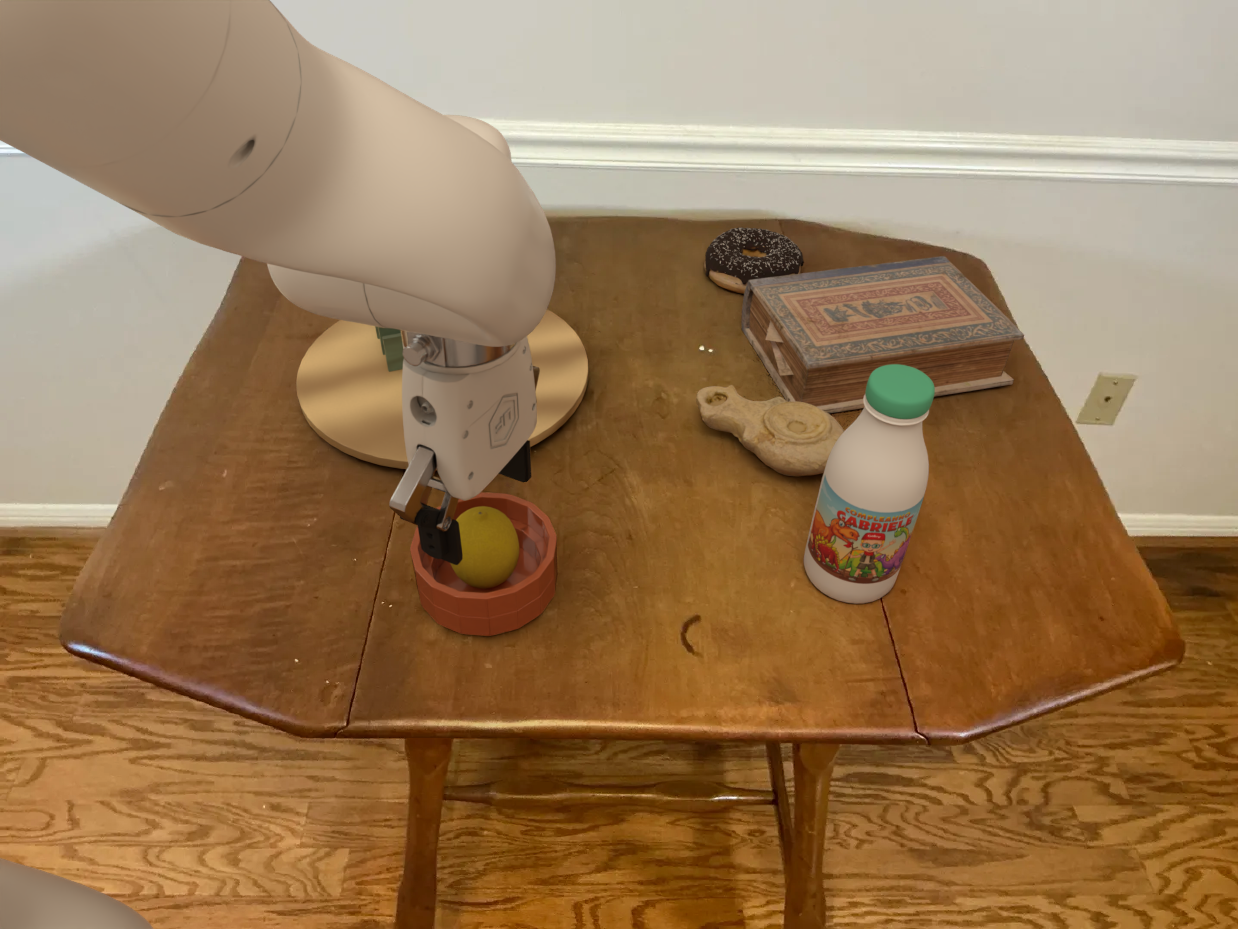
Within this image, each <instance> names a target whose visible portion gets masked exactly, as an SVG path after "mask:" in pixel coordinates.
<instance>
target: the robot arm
mask: <svg viewBox="0 0 1238 929" xmlns="http://www.w3.org/2000/svg"><path fill="white" fill-rule="evenodd" d="M0 141H1V142H2V143H4V144H7V145H8V146H10V147H12V148H14V149H16V150H18V151H20V152H22V153H23V154H25V155H28V156H29V157H31V158H33V159H35V160H37V161H39V162H41V163H42V164H45V165H47V166H49V167H50V168H52V169H54V170H56V171H57V172H59V173H62V174H63V175H66V176H68V177H69V178H71V179H73V180H75V181H77V182H79V183H81V184H82V185H84V186H86V187H88V188H90V189H92V190H94V191H96V192H97V193H99V194H101V195H103V196H105V197H106V198H109V199H110V200H112V201H114V202H116V203H118V204H120V205H122V206H124V207H126V208H127V209H129V210H131V211H134V213H137V214H139V215H141V216H142V217H144V218H146V219H148V220H150V221H152V222H153V223H155V224H157V225H159V226H160V227H161V228H164V229H166V230H168V231H170V233H173V234H175V235H177V236H179V237H183V238H185V239H187V240H191V241H193V242H195V243H197V244H200V245H203V246H207V247H209V248H214V249H217V250H220V251H223V252H226V253H229V254H233V255H237V256H240V257H243V258H246V259H249V260H252V261H255V262H259V263H262V264H266V265H267V270H268V273H269V275H270V278H271V280H272V281H273V284H274V286H275V287H276V288H277V290H278V291H279V293H281V295H282V296H283V297H284V298H285V299H286V300H288V301H289V302H290V303H292V304H293V305H294V306H296V307H297V308H300V309H302V310H303V311H307V312H309V313H311V314H314V315H318V316H320V317H325V318H329V319H334V320H338V321H339V320H344V321H349V322H354V323H360V324H365V325H371V326H376V327H382V328H393V329H399V330H401V337H402V343H403V351H402V353H403V357H404V360H403V373H402V412H403V428H404V439H405V446H406V454H407V459H408V464H409V466H408V468H407V469H405V472H404V473H403V476H401V479H400V481H399V483H398V484H397V486H396V487H395V490H394V492H393V494H392V496H391V497H390V499H389V502H388V504H389V509H391V510H392V511H393V512H394V513H395V514H396V515H397V516H398V517H399V518H400V520H403V521H405V522H407V523H411V524H413V525H415V526H417V527H418V531H419V537H420V544H421V549H422V550H423V551H424V552H425V553H427V554H428V555H429V556H431V557H433V558H436V559H442V560H444V561H447V562H449V563H452V564H454V565H458V564H459V563H460V562H461V561H462V559H463V557H462V556H463V554H462V546H461V537H460V529H459V523H458V522H457V521H456V520H454V519H453V516H454V513H455V510H456V507H457V504H458V500H459V499H461V500H464V501H466V500H469V499H471V498H473V497H475V496H476V495H478V494H479V493H480V492H483V491H484V490H485V489H486V488H487V486H489V485H490V483H491V482H492V481H493V480H494V479H495V478H496V477H497V476H498V475H500V476H504V477H507V478H509V479H512V480H515V481H517V482H521V483H529V481H530V480H531V478H532V458H531V457H532V456H531V447H530V441H528V439H529V437H530V436H531V434H532V433H533V431H534V429H535V427H536V424H537V405H536V403H537V400H536V392H535V391H536V387H537V382H538V378H539V373H540V369H539V367H536V366H533V365H532V358H531V352H530V347H529V343H528V339H527V335H529V334H530V333H531V332H532V331H533V330H534V329H535V328H536V326H537V325H538V324H539V323H540V321H541V319H542V318H543V316H544V314H545V312H546V310H547V309H549V305H550V302H551V299H552V297H553V293H554V288H555V283H556V273H557V272H556V271H557V260H556V249H555V242H554V237H553V234H552V229H551V226H550V223H549V221H548V219H547V215H546V213H545V210H544V209H543V207H542V204H541V203H540V202H539V199H538V197H537V196H536V194H535V193H534V190H533V188H531V186H530V185H529V183H528V181H527V180H526V179H525V177H524V176H523V174H522V173H521V171H520V169H519V168H518V167H517V166H516V165H515V164H514V163H513V161H512V153H511V149H510V145H509V144H508V141H507V140H506V138H505V137H504V135H503V134H502V133H501V131H500V130H499V129H497V128H496V127H494V126H493V125H492V124H490V123H488V122H486V121H485V120H482V119H479V118H476V117H472V116H466V115H459V114H443V113H441V112H439V111H437V110H435V109H433V108H432V107H429V106H427V105H426V104H424V103H422V102H420V101H418V100H416V99H415V98H413V97H411V96H409V95H407V94H406V93H405V92H402V91H400V90H399V89H396V87H393V86H392V85H390V84H388V83H387V82H385V81H383V80H381V79H380V78H378V77H376V76H374V75H372V74H371V73H369V72H367V71H366V70H363V69H361V68H360V67H358V66H355V65H354V64H352V63H350V62H348V61H345V60H343V59H342V58H339V57H337V56H336V55H333V54H331V53H329V52H327V51H325V50H323V49H321V48H319V47H318V46H316V45H314V44H312V43H311V42H310V41H308V40H307V39H306V38H305V37H304V36H303V35H302V34H301V33H300V32H299V31H298V30H297V29H296V28H295V26H293V24H292V23H291V22H290V20H288V19H287V18H286V17H285V15H284V14H283V13H282V12H281V11H280V10H279V9H278V8H277V6H276V5H275V4H274V2H272V1H271V0H0ZM436 469H437V470H436ZM436 471H437V474H438V476H439V477H437V476H435V474H436ZM432 489H435V490H437V491H440V492H442V493H444V495H443V499H442V502H441V505H440V506H441V508H440V510H439V509H437V507H434V506H431V505H428V502H429V500H430V496H431V493H432ZM0 929H154V927H153V925H152V924H151V923H150V922H149V921H148V920H147V919H146V918H145V917H144V916H143V915H141V913H139V912H138V911H136V910H135V909H134V908H132V907H130V906H129V905H127V904H125V902H121V901H120V900H118V899H116V898H114V897H113V896H112V897H111V896H110V895H108V894H106V893H103V892H102V891H99V890H98V889H97V890H96V889H94V888H92V887H90V886H87V885H85V884H82V883H80V882H77V881H75V880H72V879H69V878H65V877H63V876H60V875H57V874H54V873H51V872H47V871H45V870H42V869H39V868H35V867H32V866H28V865H26V864H22V863H18V862H14V861H11V860H8V859H6V858H2V857H0Z"/></svg>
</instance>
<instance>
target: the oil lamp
mask: <svg viewBox="0 0 1238 929" xmlns="http://www.w3.org/2000/svg"><path fill="white" fill-rule="evenodd" d="M695 401H696V405H697V408H698V409H699V411H700V417H701V419H702V421H703V423H704V424H705V425H706V426H707V427H708V428H710V429H713V430H715V431H720V432H725V433H731V434H732V435H733V436H734V437H736V438H737V439H738V441H739V443H740V444H742V446H743V447H744V448H745V449H746V450H748V451H750V452H752V453H753V454H755V455H756V457H757V458H758V459H759V460H760V461H761V462H762V463H763V464H765V466H767V467H769V468H771V469H772V470H774V471H775V472H777V473H778V474H781V475H782V476H787V477H805V476H816V475H820V474H824V470H825V467H826V464H827V460H828V457H829V455H830V453H831V450H832V448H833V446H834V445H835V443H836V441H837V440H838V438H839V437H840V436H841V434H842V433H843V432H844V431H845V430H844V428H843V426H842V425H841V423H839V421H837V419H836V418H835V417H834V416H832V415H831V413H829V414H828V413H827V412H825V411H823V410H821V409H819V408H818V407H816V406H813V405H811V404H808V403H804V402H797V401H791V402H787V401H786V399H785V398H784V397H782V396H774V397H772V398H770V399H768V400H767V399H766V400H754V401H753V400H751V399H748V398H745V397H743V396H742V395H740V394H739V392H738V391H737V389H736V387H735V386H734V385H733V384H730V385H728V386H721V385H720V386H719V385H711V386H706V387H703V388H702V387H701V388H700V389H699V390H698V391H697V393H696V396H695Z"/></svg>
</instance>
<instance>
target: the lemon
mask: <svg viewBox="0 0 1238 929" xmlns="http://www.w3.org/2000/svg"><path fill="white" fill-rule="evenodd" d="M456 521H457V522H458V523H459V529H460V537H461V546H462V554H463V556H462V557H463V559H462V561H461V562H460V563H459V564H458V565H454V564H452V563H450V564H451V566H452V568H453V570H454V571H455V573H456V575H457V576H458V577H459V578H460V579H461V580H462V581H463V582H464V583H466V584H468V585H470V586H472V587H476V588H483V589H486V588H492V587H495V586H498V585H500V584H501V583H503V582H505V581H506V580H507V579H508V578H509V577H510V576H511V575H512V573H513V571H514V569H515V568H516V565H517V562H518V557H519V542H518V536H517V533H516V531H515V529H514V526H513V524H512V523H511V521H510V520H509V518H508V517H507V516H506V515H505V514H504V513H502V512H501V511H499V510H497V509H495V508H492V507H486V506H480V507H474V508H471V509H469V510H467V511H465V512H464V513H462V514H461V515H460V516H459V517H458V518H457V519H456Z"/></svg>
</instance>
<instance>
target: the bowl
mask: <svg viewBox="0 0 1238 929" xmlns="http://www.w3.org/2000/svg"><path fill="white" fill-rule="evenodd" d="M480 506H486V507H492V508H495V509H497V510H499V511H501V512H502V513H504V514H505V515H506V516H507V517H508V518H509V520H510V521H511V523H512V524H513V526H514V529H515V531H516V533H517V536H518V542H519V557H518V562H517V565H516V568H515V569H514V571H513V573H512V575H511V576H510V577H509V578H508V579H507V580H506V581H505V582H503V583H501V584H500V585H498V586H495V587H492V588H486V589H483V588H476V587H472V586H470V585H468V584H466V583H464V582H463V581H462V580H461V579H460V578H459V577H458V576H457V575H456V573H455V571H454V570H453V568H452V566H451V564H450V563H449V562H447V561H444V560H442V559H436V558H433V557H431V556H429V555H428V554H427V553H425V552H424V551H423V550H422V549H421V544H420V537H419V531H418V526H416V528H415V531H414V534H413V537H412V541H411V544H410V546H409V547H410V548H409V552H410V557H411V562H412V563H411V564H412V567H413V573H414V579H415V584H416V590H417V593H418V597H419V601H420V606H421V607H422V608H423V610H424V611H425V612H426V613H427V614H428V615H429V616H430V617H431V618H432V619H433V620H434V622H435V623H437V624H438V625H439V626H442V627H444V628H446V629H449V630H451V631H453V632H455V633H458V634H460V635H471V636H483V637H490V636H491V637H492V636H496V635H500V634H503V633H508V632H512V631H515V630H518V629H520V628H523V627H524V626H525V625H527V624H529V623H530V622H532V621H533V620H534V619H536V618H538V617H539V616H541V615H542V614H543V613H544V611H545V610H546V608H547V607H548V605H549V603H551V601H552V600H553V599H554V597H555V595H556V589H557V582H558V577H559V576H558V575H559V568H558V535H557V534H556V531H555V528H554V526H553V524H552V521H551V518H550V517H549V516H548V515H547V514H546V513H545V512H544V511H542V509H540V508H539V507H538V506H537V505H536V504H534V502H532V501H529V500H526V499H524V498H521V497H519V496H516V495H513V494H510V493H502V492H488V491H487V492H484V491H481V492H480V493H479V494H478V495H476V496H475V497H473V498H471V499H469V500H466V501H464V500H461V499H459V500H458V504H457V507H456V510H455V513H454V516H453V519H454V520H456V519H457V518H458V517H459V516H460V515H461V514H462V513H464V512H465V511H467V510H469V509H471V508H474V507H480ZM436 508H437V509H439V510H440V508H441V505H439V506H438V507H436Z"/></svg>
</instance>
